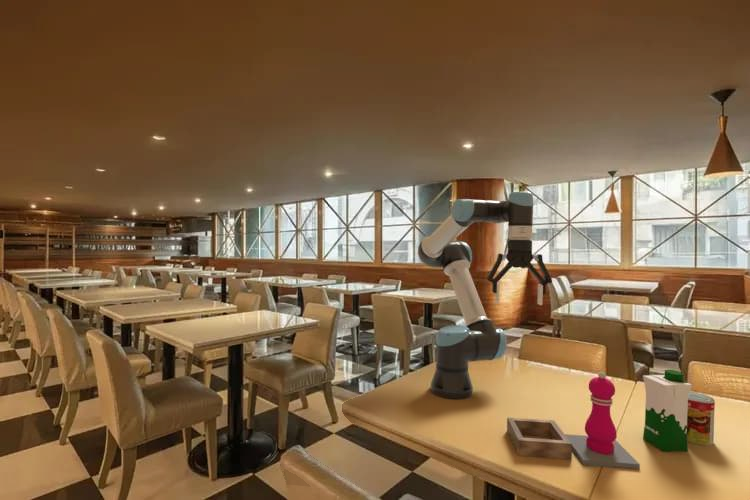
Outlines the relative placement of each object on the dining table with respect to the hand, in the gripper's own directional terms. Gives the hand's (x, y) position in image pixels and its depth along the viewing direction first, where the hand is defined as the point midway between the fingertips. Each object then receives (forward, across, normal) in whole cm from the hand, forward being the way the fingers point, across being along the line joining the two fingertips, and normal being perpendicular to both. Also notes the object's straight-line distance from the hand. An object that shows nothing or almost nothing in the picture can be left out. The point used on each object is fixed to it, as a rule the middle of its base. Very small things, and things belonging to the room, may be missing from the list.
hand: (518, 303), depth 127 cm
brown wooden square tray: (+35, 0, -23) cm, 42 cm away
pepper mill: (+34, +15, -25) cm, 45 cm away
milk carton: (+35, +35, -18) cm, 53 cm away
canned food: (+35, +46, -13) cm, 59 cm away
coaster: (+35, +15, -25) cm, 45 cm away
